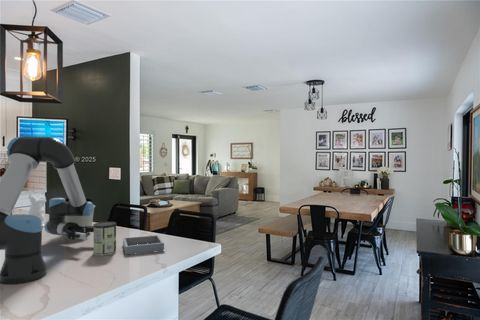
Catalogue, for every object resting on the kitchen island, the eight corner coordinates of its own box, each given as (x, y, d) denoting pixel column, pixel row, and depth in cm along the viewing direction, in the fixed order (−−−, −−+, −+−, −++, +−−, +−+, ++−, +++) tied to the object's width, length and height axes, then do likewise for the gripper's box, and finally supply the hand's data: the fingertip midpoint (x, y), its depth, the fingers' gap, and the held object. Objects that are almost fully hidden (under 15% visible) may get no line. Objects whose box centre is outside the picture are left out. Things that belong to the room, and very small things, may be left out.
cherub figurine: (40, 224, 219) (41, 192, 220) (53, 226, 215) (54, 193, 215) (22, 228, 208) (23, 193, 208) (36, 229, 203) (37, 194, 204)
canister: (101, 232, 198) (102, 198, 198) (75, 238, 182) (76, 201, 182) (81, 229, 206) (81, 196, 206) (54, 235, 190) (54, 199, 190)
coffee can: (102, 248, 163) (103, 221, 163) (120, 250, 160) (120, 222, 160) (88, 254, 153) (88, 224, 153) (106, 256, 150) (106, 226, 150)
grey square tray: (164, 251, 160) (164, 243, 160) (125, 255, 153) (125, 246, 153) (158, 242, 176) (158, 235, 176) (123, 245, 169) (123, 237, 169)
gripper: (89, 231, 180) (116, 236, 171) (45, 241, 158) (74, 247, 148) (89, 218, 180) (117, 221, 171) (45, 226, 158) (74, 231, 148)
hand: (97, 233), depth 160 cm, fingers open, 13 cm apart
